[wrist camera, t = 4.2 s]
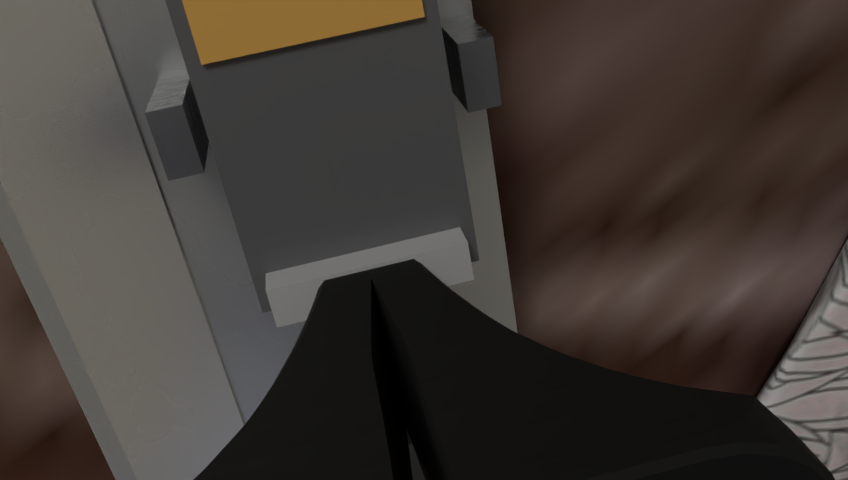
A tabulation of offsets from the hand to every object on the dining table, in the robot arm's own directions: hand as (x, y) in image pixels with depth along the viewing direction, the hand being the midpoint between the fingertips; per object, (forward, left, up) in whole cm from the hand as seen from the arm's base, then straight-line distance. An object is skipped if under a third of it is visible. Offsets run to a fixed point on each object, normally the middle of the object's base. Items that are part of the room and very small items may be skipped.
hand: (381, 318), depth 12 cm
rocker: (+3, 0, -1) cm, 3 cm away
